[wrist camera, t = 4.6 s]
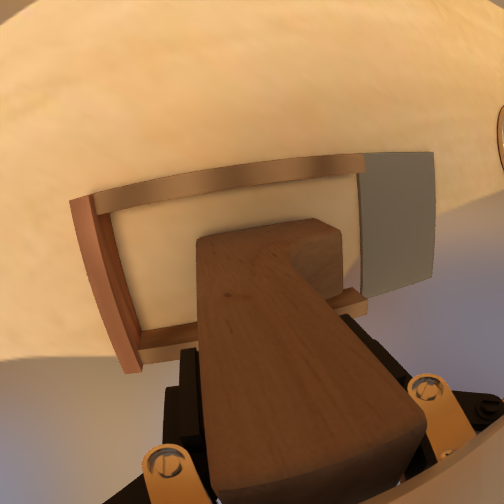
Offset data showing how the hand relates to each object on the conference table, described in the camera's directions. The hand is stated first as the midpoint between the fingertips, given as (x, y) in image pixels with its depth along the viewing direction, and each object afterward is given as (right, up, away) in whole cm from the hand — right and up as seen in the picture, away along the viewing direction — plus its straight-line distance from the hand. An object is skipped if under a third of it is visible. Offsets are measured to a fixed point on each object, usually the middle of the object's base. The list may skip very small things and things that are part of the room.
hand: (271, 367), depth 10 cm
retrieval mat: (+14, +7, +16) cm, 23 cm away
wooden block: (0, +4, +12) cm, 12 cm away
